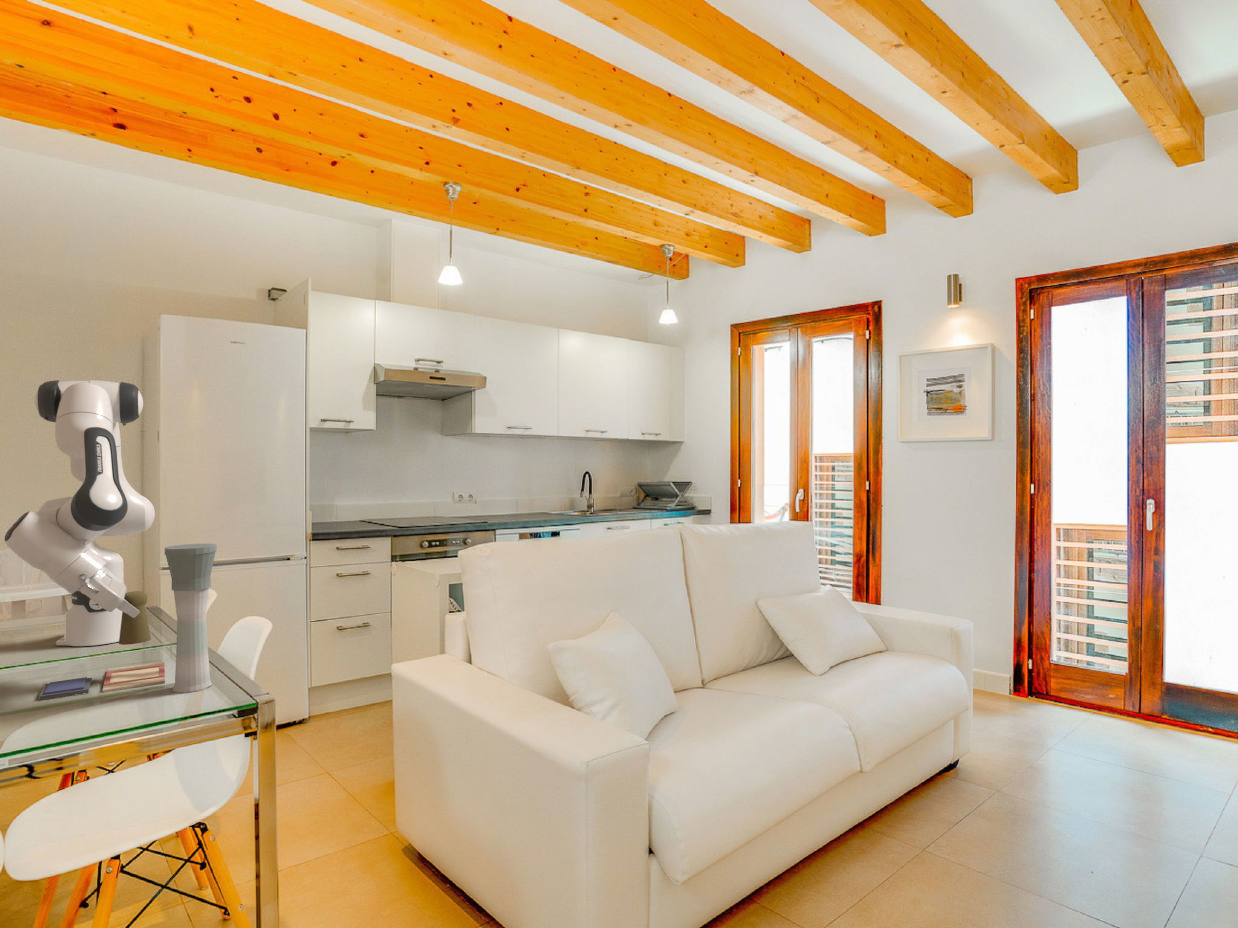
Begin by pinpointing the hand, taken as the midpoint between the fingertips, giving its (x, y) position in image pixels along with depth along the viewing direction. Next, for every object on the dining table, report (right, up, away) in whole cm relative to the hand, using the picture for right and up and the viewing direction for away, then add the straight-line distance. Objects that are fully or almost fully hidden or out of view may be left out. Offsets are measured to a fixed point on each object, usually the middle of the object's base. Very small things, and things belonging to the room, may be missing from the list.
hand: (137, 612), depth 162 cm
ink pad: (-9, -14, -9) cm, 19 cm away
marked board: (0, -14, 0) cm, 14 cm away
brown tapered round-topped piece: (0, -6, 0) cm, 6 cm away
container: (+17, -14, -8) cm, 24 cm away
